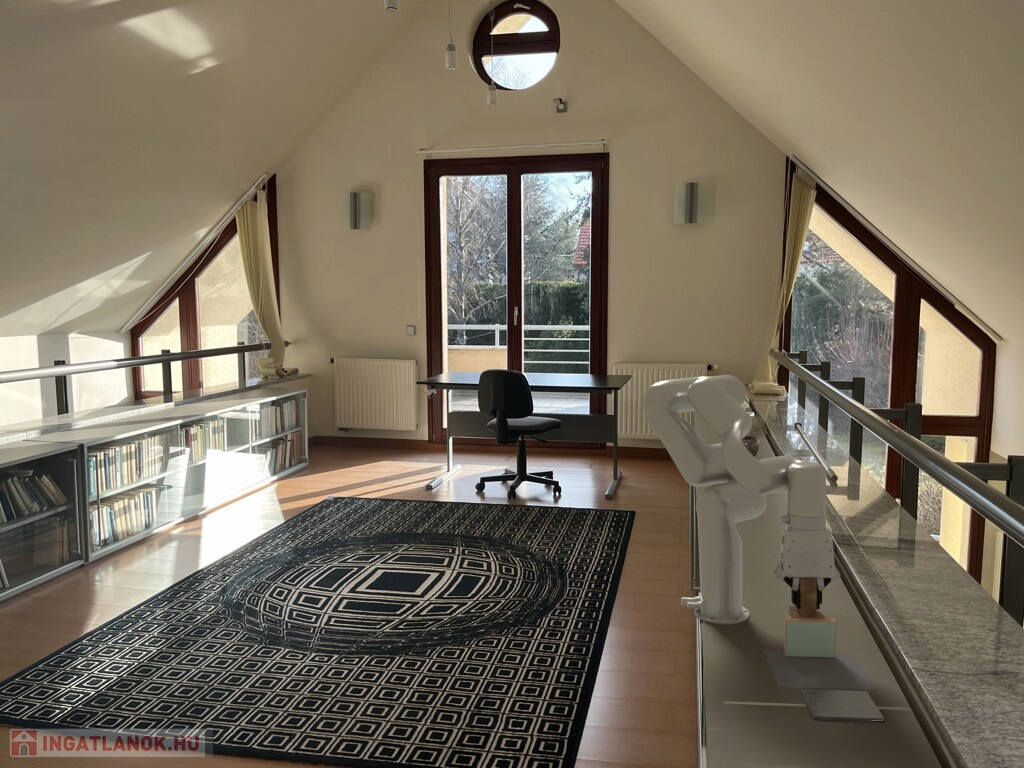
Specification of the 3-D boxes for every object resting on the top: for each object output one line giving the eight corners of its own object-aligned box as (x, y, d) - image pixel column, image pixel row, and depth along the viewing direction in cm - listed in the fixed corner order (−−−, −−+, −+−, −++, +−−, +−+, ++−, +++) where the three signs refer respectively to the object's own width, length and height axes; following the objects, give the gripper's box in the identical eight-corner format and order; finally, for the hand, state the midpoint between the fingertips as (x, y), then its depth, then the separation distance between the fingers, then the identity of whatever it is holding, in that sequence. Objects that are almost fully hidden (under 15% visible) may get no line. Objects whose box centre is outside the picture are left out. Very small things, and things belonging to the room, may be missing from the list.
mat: (777, 688, 155) (777, 686, 155) (762, 652, 170) (762, 650, 170) (876, 691, 152) (876, 689, 152) (851, 654, 168) (851, 652, 168)
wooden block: (795, 623, 167) (795, 574, 166) (789, 612, 173) (788, 565, 172) (825, 624, 166) (825, 575, 165) (818, 613, 172) (818, 565, 171)
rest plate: (813, 719, 143) (813, 716, 143) (800, 692, 153) (800, 689, 153) (884, 721, 142) (884, 718, 142) (866, 694, 152) (866, 691, 151)
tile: (785, 656, 167) (785, 621, 166) (783, 653, 169) (784, 617, 167) (835, 658, 166) (836, 622, 164) (833, 654, 167) (834, 618, 166)
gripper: (769, 526, 165) (770, 613, 167) (853, 526, 163) (852, 614, 165) (762, 517, 172) (763, 600, 174) (842, 516, 170) (842, 600, 172)
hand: (806, 606), depth 169 cm, fingers closed on wooden block, 3 cm apart
